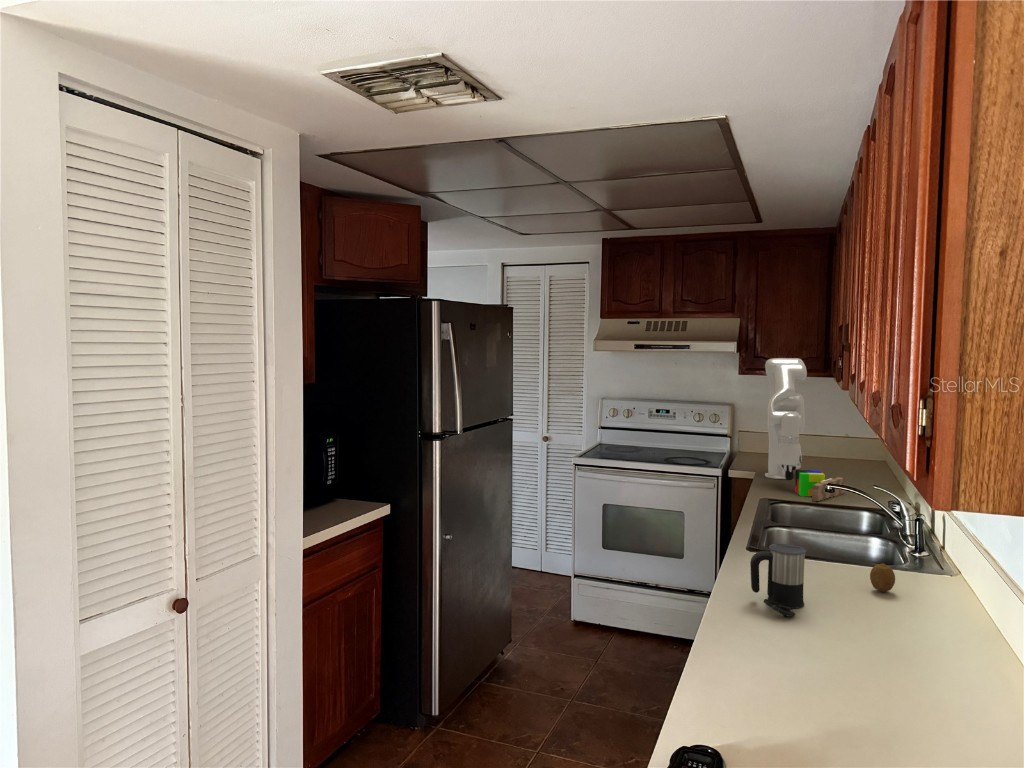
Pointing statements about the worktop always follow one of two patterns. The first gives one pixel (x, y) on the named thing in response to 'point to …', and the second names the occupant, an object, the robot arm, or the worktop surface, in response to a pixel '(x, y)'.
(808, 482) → the puzzle toy
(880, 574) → the fruit
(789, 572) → the milk frother
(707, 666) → the worktop surface
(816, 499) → the wooden notched board
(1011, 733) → the worktop surface
